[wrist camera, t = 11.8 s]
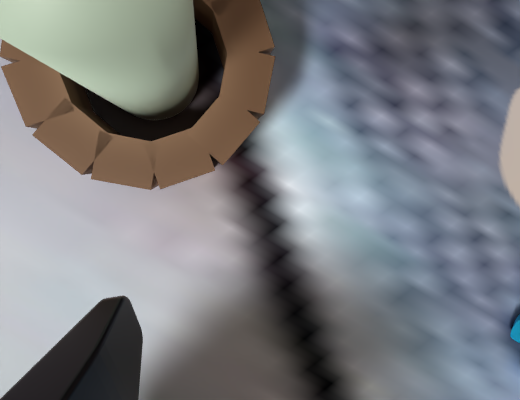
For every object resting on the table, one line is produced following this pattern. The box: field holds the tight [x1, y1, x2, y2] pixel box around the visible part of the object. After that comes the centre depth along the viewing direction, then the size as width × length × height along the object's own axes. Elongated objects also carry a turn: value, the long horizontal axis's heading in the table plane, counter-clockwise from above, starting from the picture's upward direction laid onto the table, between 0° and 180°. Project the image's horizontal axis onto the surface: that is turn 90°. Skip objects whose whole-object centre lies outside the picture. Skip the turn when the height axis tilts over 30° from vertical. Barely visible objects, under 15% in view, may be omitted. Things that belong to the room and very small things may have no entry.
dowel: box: [0, 0, 199, 120], centre depth 12 cm, size 4×4×12 cm
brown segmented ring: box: [0, 0, 275, 190], centre depth 17 cm, size 10×10×3 cm
